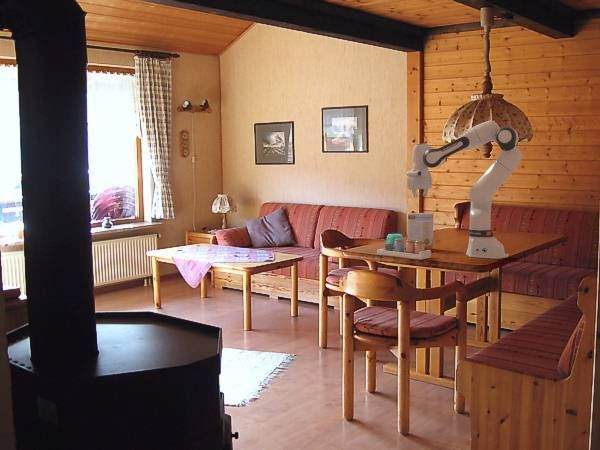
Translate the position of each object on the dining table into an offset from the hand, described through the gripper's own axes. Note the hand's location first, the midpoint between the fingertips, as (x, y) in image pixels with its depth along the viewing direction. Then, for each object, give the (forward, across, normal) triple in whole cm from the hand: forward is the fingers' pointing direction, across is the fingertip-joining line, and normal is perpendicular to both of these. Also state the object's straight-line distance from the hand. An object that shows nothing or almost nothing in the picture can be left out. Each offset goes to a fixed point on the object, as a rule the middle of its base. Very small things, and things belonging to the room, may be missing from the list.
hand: (420, 197), depth 395 cm
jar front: (+31, +18, +12) cm, 38 cm away
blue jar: (+31, +18, -1) cm, 36 cm away
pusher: (+31, +15, -8) cm, 35 cm away
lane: (+31, +18, +2) cm, 36 cm away
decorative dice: (+31, -4, -20) cm, 37 cm away
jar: (+31, +18, +6) cm, 36 cm away
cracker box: (+31, -10, -6) cm, 33 cm away
